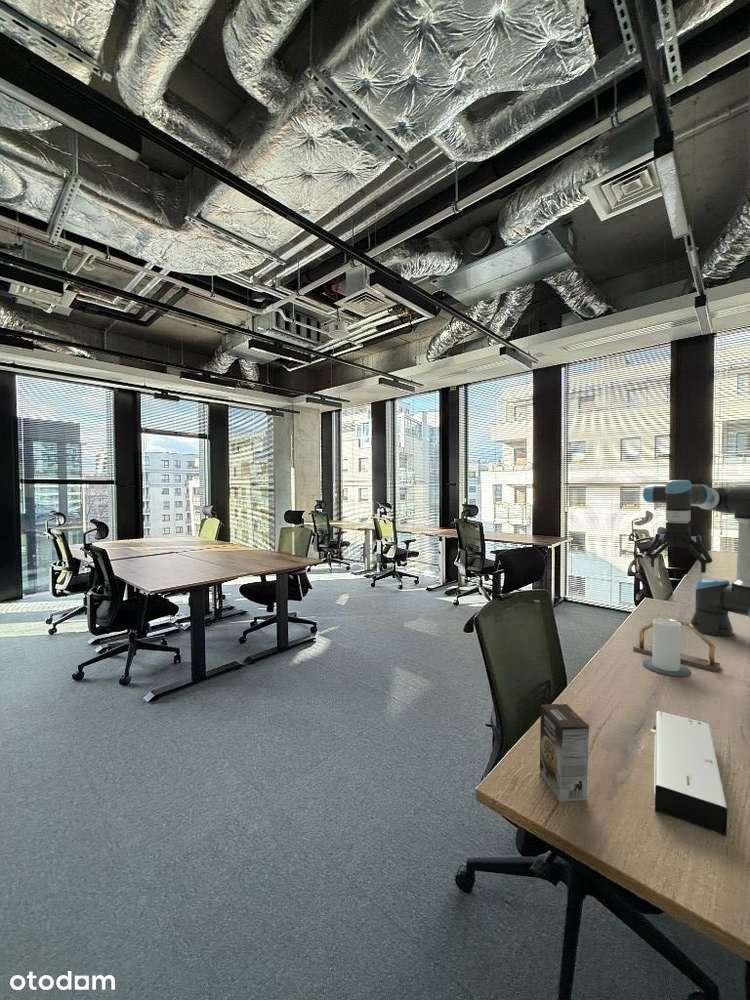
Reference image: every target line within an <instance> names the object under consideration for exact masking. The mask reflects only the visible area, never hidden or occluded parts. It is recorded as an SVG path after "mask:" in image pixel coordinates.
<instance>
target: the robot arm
mask: <svg viewBox="0 0 750 1000" xmlns="http://www.w3.org/2000/svg"><path fill="white" fill-rule="evenodd" d="M642 492H643V493H642V498H643V500H645V502H646V503H652V504H665V520H666V522H665V533H660V532H658V533H656V534H655V537H654V540H653V542H652V543H651V545H650V546H649V548H648V550H647V551H646V553H645V556H646V558H649V559H650V566H651V568H653V577H658V576H659V558H657V557H659V555H660V554H661V553H663V552H664V550H666V549H668V547H670V546H671V547H673V548H675V547H677V548H684V547H685V549H686V550H688V551H689V552H690V553H691V555H693V556H694V558H695V559H696V560H698V562H699V563H698V564H697V565H698V567H697V581H696V584H695V588H694V589H695V602H694V604H695V607H694V609H695V610H694V613H693V615H692V617H691V619H690V622H689V623H690V624H691V625H692V626H693V627H694V628H695V629H697V630H698V631H699V632H700V633H701V634H706V635H711V636H719V637H729V636H733V634H734V628H733V625H732V623H731V620H730V617H729V613H733V614H737V615H741V616H746V617H749V618H750V486H719V487H710V486H708V485H706V484H700V483H699V484H697V483H696V484H692V482H691V480H689V479H673V480H672V479H671V480H668V481H666V484H655V483H654V484H648V485H645V487H644V488H643V490H642ZM691 506H692V507H699V508H700V509H702V510H709V511H713V512H719V513H723V514H724V513H725V514H733V515H734V517H733V518H734V520H735V521H737V523H738V534H737V535H738V537H737V540H738V541H737V558H736V559H737V561H736V578H735V579H734V580H732V581H731V582H730V580H728V579H725V578H724V579H723V578H703V574H704V573H706V571H707V564H710V563H712V562H713V558H712V556H711V555H710V553H709V552H708V550H707V548H706V546H705V544H704V543H703V541H702V536H701V535H697V536H692V534H691V523H690V522H691V518H692V517H691V516H692V515H691V514H692V513H691V511H692V509H691ZM663 538H664V539H665V540H666V542H665V543H664V544H663V545H662V546H661V547H660V548H658V550H656V551H655V549H656V547H657V545H659V543H660V541H661V540H663ZM691 541H694V543H696V545H697V546H698V549H699V550H700V551H701V553H702V555H703V556H702V555H701V554H700V552H698V551H697V549H695V547H694V546H693V545H692V544H691V543H690V542H691ZM654 551H655V552H654ZM653 552H654V553H653Z"/></svg>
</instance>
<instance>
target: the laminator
mask: <svg viewBox="0 0 750 1000" xmlns="http://www.w3.org/2000/svg"><path fill="white" fill-rule="evenodd" d="M650 733H653V734H654V754H653V755H654V756H653V757H654V758H653V759H654V760H653V762H654V764H653V766H654V768H653V769H654V770H653V772H654V773H653V796H654V812H657V813H661V814H664V815H665V816H669V817H672V818H675V819H677V820H680V821H683V822H684V823H685V822H686V823H688V824H690V825H694V826H697V827H699V828H702V829H706V830H708V831H711V832H713V831H714V833H716V832H717V833H716V834H719V835H722V836H724V835H725V836H724V837H727V834H728V807H727V801H726V797H725V793H724V788H723V782H722V778H721V773H720V769H719V764H718V760H717V755H716V749H715V746H714V740H713V736H712V735H713V734H712V731H711V726H710V723H709V722H707V721H701V720H699V719H694V718H690V717H687V716H681V715H678V714H674V713H671V712H666V711H662V710H656V711H655V724H654V725H653V729H652V728H650Z"/></svg>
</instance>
